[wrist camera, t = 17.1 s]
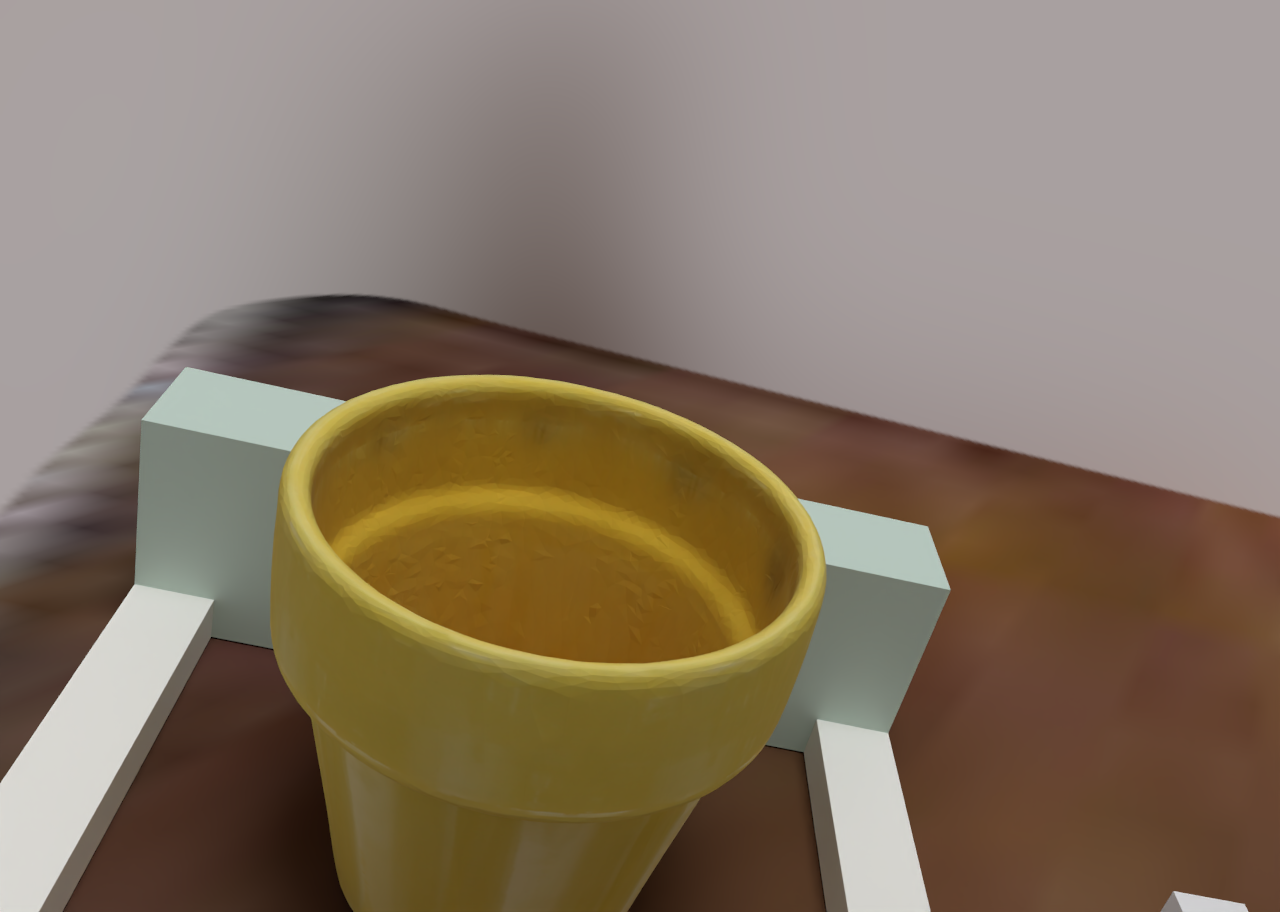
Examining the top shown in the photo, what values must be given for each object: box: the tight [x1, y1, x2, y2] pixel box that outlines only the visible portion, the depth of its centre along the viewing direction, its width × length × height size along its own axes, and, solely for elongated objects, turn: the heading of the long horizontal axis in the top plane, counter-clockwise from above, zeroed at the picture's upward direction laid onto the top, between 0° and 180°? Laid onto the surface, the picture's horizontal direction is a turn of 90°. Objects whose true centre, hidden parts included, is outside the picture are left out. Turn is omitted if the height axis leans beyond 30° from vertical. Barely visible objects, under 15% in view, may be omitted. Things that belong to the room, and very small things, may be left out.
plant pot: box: [270, 375, 826, 912], centre depth 25 cm, size 10×10×10 cm
